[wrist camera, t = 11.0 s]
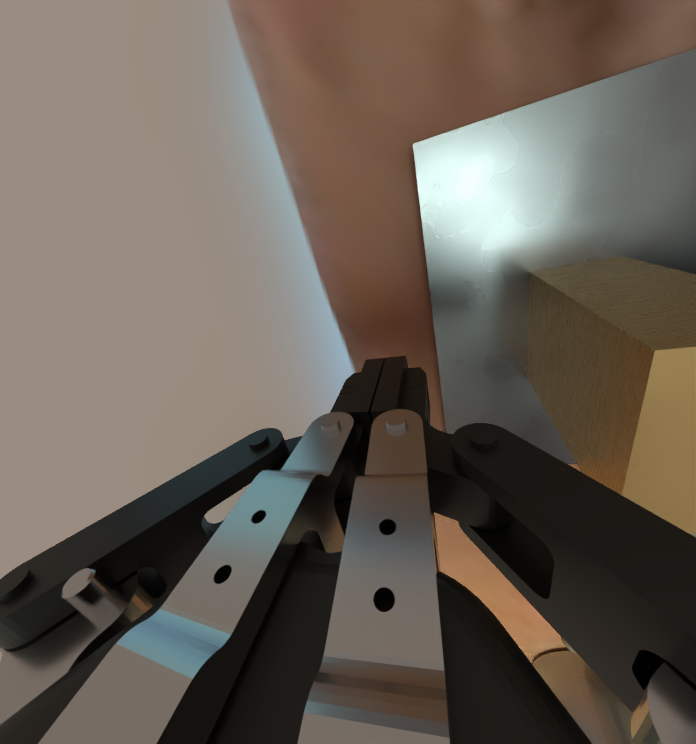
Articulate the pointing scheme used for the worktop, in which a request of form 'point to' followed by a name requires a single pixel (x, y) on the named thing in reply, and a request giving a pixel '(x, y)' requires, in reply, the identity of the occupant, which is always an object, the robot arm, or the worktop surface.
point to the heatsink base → (548, 223)
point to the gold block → (621, 376)
